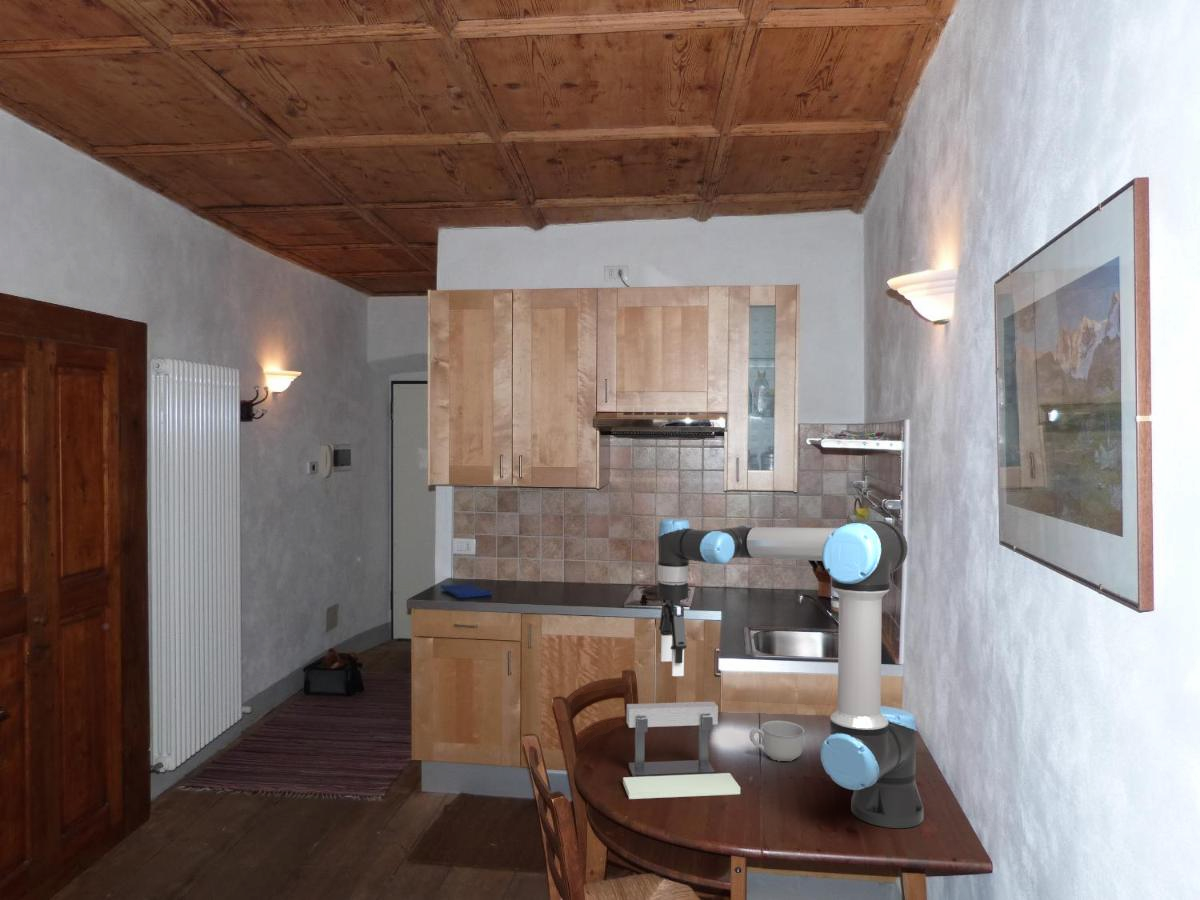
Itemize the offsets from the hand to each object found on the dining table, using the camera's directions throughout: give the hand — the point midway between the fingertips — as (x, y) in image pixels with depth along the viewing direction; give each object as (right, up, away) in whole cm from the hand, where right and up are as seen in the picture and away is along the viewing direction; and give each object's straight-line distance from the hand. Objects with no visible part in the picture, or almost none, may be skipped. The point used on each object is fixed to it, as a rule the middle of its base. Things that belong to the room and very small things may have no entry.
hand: (671, 668), depth 218 cm
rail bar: (0, -14, 0) cm, 14 cm away
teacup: (+28, -26, +11) cm, 40 cm away
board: (+1, -26, -10) cm, 28 cm away
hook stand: (0, -26, 0) cm, 26 cm away
